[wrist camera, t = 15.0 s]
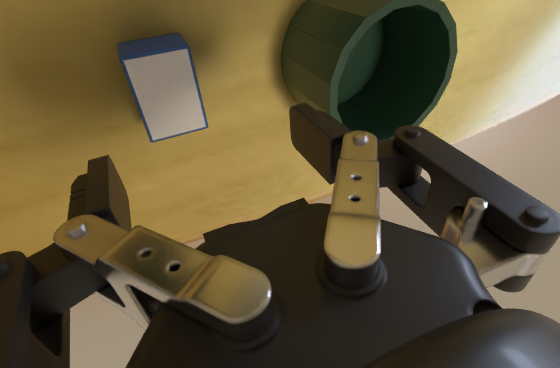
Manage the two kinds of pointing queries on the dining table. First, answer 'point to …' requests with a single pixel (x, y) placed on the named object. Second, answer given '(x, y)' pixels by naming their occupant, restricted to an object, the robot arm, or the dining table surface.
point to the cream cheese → (163, 85)
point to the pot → (370, 60)
